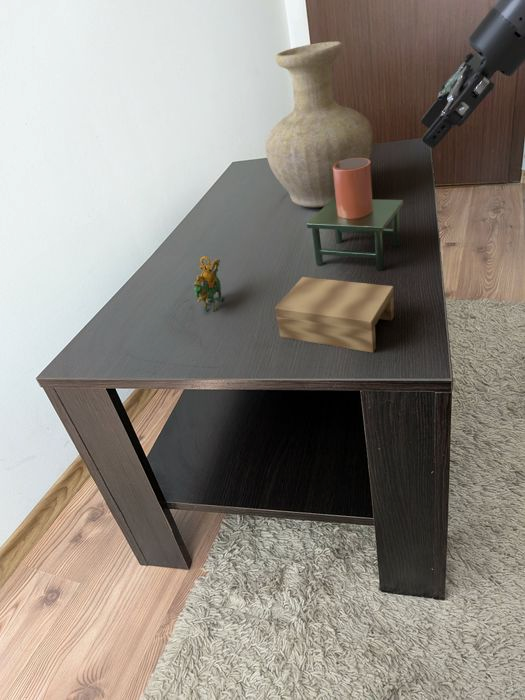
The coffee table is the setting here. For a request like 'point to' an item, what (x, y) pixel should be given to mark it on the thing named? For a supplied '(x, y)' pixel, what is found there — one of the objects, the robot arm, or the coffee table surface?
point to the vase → (314, 128)
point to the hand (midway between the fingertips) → (426, 134)
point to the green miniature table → (358, 229)
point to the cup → (353, 188)
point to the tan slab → (335, 312)
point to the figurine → (208, 283)
